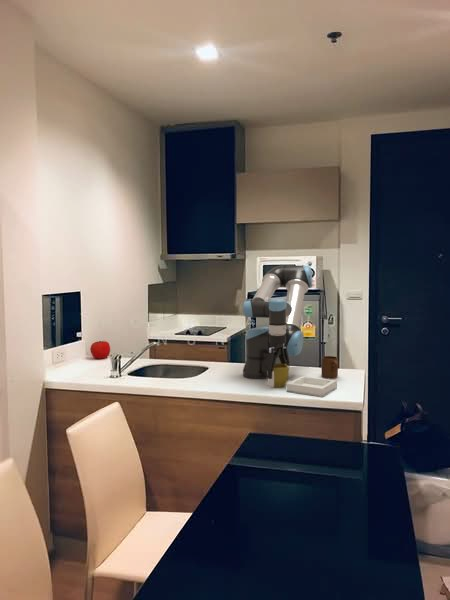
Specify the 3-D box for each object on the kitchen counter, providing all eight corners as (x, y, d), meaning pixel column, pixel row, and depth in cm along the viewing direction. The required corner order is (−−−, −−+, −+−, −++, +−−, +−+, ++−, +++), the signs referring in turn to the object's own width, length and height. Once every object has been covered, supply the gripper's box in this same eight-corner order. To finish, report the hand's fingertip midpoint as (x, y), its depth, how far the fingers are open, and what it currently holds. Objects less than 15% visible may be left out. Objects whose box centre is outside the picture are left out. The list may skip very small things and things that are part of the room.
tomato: (114, 356, 294) (113, 338, 294) (105, 360, 282) (104, 342, 281) (96, 355, 297) (95, 338, 296) (86, 360, 284) (85, 342, 283)
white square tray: (286, 391, 214) (286, 383, 213) (302, 383, 227) (302, 376, 227) (322, 397, 205) (322, 388, 205) (336, 388, 218) (336, 380, 218)
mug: (344, 380, 232) (345, 360, 232) (329, 381, 231) (329, 361, 230) (333, 374, 244) (333, 355, 243) (318, 375, 242) (318, 356, 241)
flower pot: (269, 388, 219) (269, 368, 218) (265, 383, 228) (265, 363, 227) (289, 388, 220) (289, 367, 219) (285, 383, 229) (285, 363, 228)
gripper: (272, 338, 210) (272, 390, 212) (296, 331, 230) (296, 378, 232) (256, 337, 214) (256, 387, 216) (282, 330, 234) (282, 376, 236)
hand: (277, 383), depth 224 cm, fingers closed on flower pot, 11 cm apart
